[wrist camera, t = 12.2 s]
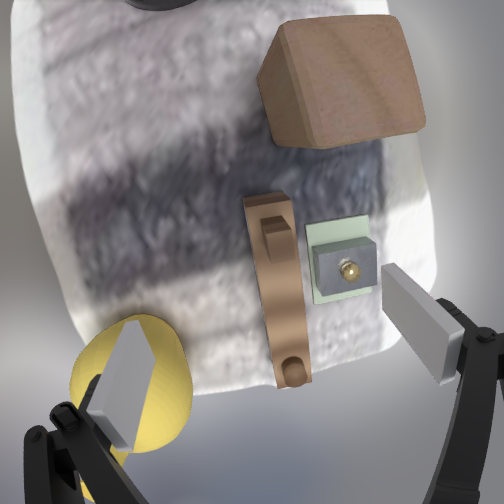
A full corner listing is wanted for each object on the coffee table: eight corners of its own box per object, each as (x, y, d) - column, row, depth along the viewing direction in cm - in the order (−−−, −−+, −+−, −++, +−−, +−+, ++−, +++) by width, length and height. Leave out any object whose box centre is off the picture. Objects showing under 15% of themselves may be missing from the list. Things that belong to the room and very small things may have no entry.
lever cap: (311, 246, 44) (321, 258, 39) (366, 236, 44) (380, 246, 39) (316, 285, 46) (324, 301, 41) (367, 275, 46) (380, 288, 41)
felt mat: (304, 224, 43) (305, 225, 43) (366, 213, 43) (368, 214, 43) (313, 302, 47) (314, 304, 47) (369, 290, 47) (371, 292, 47)
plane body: (242, 197, 42) (248, 220, 29) (282, 190, 42) (304, 211, 29) (271, 360, 50) (282, 418, 38) (303, 353, 50) (322, 410, 38)
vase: (213, 369, 50) (209, 527, 24) (128, 387, 50) (88, 523, 24) (174, 283, 45) (123, 445, 18) (83, 310, 45) (-5, 443, 19)
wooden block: (328, 61, 36) (400, 11, 17) (346, 132, 40) (433, 130, 21) (254, 74, 37) (276, 18, 18) (274, 148, 40) (314, 152, 21)
